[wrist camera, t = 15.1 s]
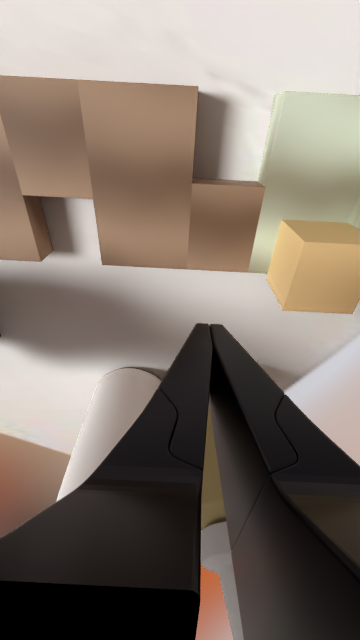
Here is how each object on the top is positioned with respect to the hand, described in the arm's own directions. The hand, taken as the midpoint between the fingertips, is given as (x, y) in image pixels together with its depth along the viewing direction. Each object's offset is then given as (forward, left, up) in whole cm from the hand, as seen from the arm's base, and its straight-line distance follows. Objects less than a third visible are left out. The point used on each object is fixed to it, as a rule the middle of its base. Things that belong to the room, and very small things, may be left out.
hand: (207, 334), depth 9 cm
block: (-1, -7, -10) cm, 12 cm away
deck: (+2, +4, -12) cm, 13 cm away
